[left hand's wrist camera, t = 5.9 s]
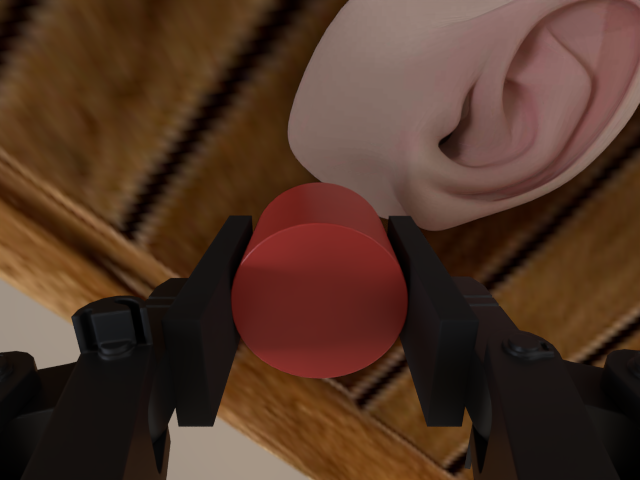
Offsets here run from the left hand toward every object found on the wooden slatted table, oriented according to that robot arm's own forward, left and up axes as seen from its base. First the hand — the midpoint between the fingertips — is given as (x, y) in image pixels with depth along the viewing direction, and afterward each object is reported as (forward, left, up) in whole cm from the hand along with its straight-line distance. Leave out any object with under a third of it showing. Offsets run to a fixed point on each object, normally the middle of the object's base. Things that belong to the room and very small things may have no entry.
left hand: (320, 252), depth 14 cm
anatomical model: (-7, +1, -7) cm, 10 cm away
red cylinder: (0, 0, 0) cm, 0 cm away
